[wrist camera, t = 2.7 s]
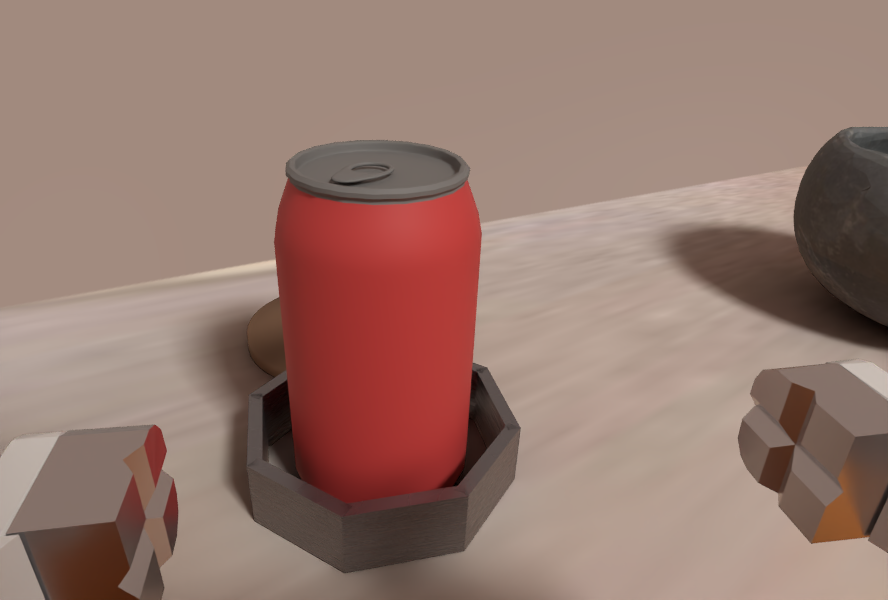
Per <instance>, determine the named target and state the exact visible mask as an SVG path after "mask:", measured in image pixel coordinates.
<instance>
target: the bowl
mask: <svg viewBox="0 0 888 600" xmlns="http://www.w3.org/2000/svg"><path fill="white" fill-rule="evenodd" d="M794 231H795V236H796V240H797V243H798V247H799V251H800V253H801V255H802V257H803V259H804V261H805V263H806V265H807V266H808V268H809V269H810V271H811V272H812V274H813V275H814V276H815V277H816V279H817V280H818V281H819V282H820V283H821V284H822V285H823V286H824V287H825V288H826V289H827V290H828V291H829V292H830V293H831V294H833V295H834V296H835V297H837V298H838V299H839V300H841V301H842V302H843V303H845V304H846V305H848V306H849V307H851V308H852V309H854V310H856V311H857V312H859V313H861V314H863V315H864V316H866V317H868V318H870V319H872V320H874V321H876V322H878V323H880V324H882V325H885V326H887V327H888V127H850V128H847V129H844V130H841V131H840V132H839V133H837V134H836V135H835V136H834V137H832V138H831V139H830V140H829V141H828V142H827V143H826V144H825V145H824V146H823V147H822V148H821V149H820V150H819V151H818V153H817V154H816V155H815V157H814V158H813V160H812V161H811V163H810V164H809V166H808V167H807V169H806V171H805V174H804V176H803V178H802V180H801V183H800V187H799V190H798V194H797V197H796V201H795V209H794Z"/></svg>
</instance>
